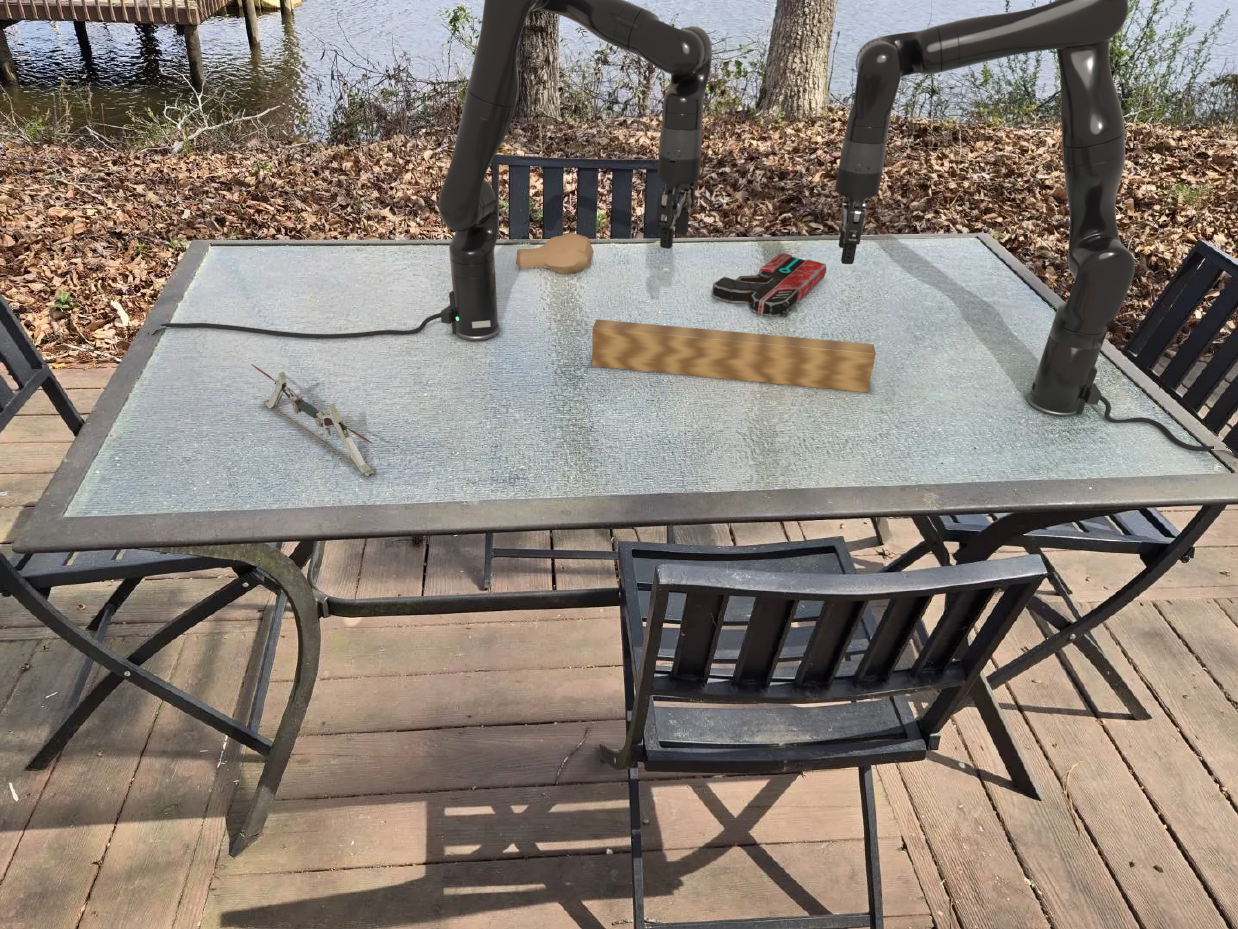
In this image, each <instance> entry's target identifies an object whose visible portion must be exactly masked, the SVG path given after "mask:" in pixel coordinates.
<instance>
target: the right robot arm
mask: <svg viewBox="0 0 1238 929" xmlns="http://www.w3.org/2000/svg"><path fill="white" fill-rule="evenodd" d="M1128 14H1129V2H1128V0H1055V1H1052V2H1050V3H1046V4H1044V5H1040V6H1037V7H1033V8H1029V9H1024V10H1019V11H1013V12H1012V11H1011V12H1005V13H998V14H989V15H982V16H975V17H968V18H964V19H959V20H955V21H949V22H947V23H943V24H939V25H938V24H937V25H935V26H931V27H928V28H926V29H922V30H916V31H908V32H900V33H894V34H888V35H883V36H879V37H875V38H873V39H871V40H868V41H867V42H866V43H864V44H863V45H862V46H861V48H859V50H858V52H857V54H856V57H855V70H856V82H855V90H854V96H853V103H852V106H851V107H850V110H849V112H848V117H847V123H846V129H845V135H844V140H843V144H842V147H841V152H840V157H839V164H838V170H837V175H836V181H835V191H836V193H837V194H839V195H840V196H843V197H844V199H843V200H842V201H841V202H842V203H841V211H840V233H839V239H838V247H839V248H840V249H842V252H841V258H840V261H841V262H840V263H841V264H843V265H853V264H854V262H855V257H856V251H857V246H858V245H860V243H861V241H862V240H861V238H862V231H863V228H864V220H865V215H866V213H867V206H866V202H865V201H864V200H865V199H871V198H872V199H873V198H875V197H876V196H877V195H878V194H879V191H880V188H881V181H882V176H883V170H884V166H885V159H886V154H887V140H888V136H889V129H890V124H891V118H892V110H893V108H894V104H895V100H896V98H897V94H898V91H899V86H900V82H901V78H903V77H906V76H911V75H915V74H921V75H925V76H926V75H927V76H928V75H935V74H940V73H944V72H948V71H952V70H953V71H954V70H957V69H961V68H965V67H969V66H974V65H977V64H982V63H986V62H989V61H994V60H998V59H1003V58H1007V57H1011V56H1017V55H1023V54H1027V53H1035V52H1041V51H1049V50H1055V51H1056V56H1057V62H1058V69H1059V74H1060V124H1061V147H1062V149H1061V150H1062V161H1063V162H1062V164H1063V171H1064V172H1063V173H1064V182H1065V189H1066V196H1067V203H1068V210H1069V233H1068V247H1067V249H1068V250H1067V251H1068V252H1067V264H1068V265H1067V266H1068V270H1069V272H1070V274H1071V276H1072V277H1073V278H1074V282H1073V284H1072V287H1071V290H1070V293H1069V296H1068V298H1067V301H1064V302H1062V303H1060V305H1058V307H1057V310H1056V312H1055V315H1054V318H1053V322H1052V325H1051V328H1050V330H1049V334H1048V337H1047V339H1046V343H1045V346H1044V349H1043V352H1042V355H1041V358H1040V361H1039V365H1038V367H1037V370H1036V374H1035V376H1034V378H1033V380H1032V383H1031V387H1030V392H1029V394H1028V395H1027V402H1028V404H1029V405H1030V406H1031V407H1033V408H1034V409H1035V410H1037V411H1039V412H1041V413H1045V414H1047V415H1051V416H1058V417H1070V416H1074V415H1083V411H1084V409H1085V406H1086V404H1087V405H1094V406H1096V405H1097V406H1098V404H1099V402H1102V403H1103V404H1104V406H1105V411H1104V414H1103V416H1104V419H1105V420H1106V421H1107V422H1108V423H1112V424H1126V423H1127V424H1128V423H1131V424H1132V423H1147V424H1150V425H1152V426H1155V427H1157V428H1158V429H1160V430H1161V431H1162V432H1163V433H1164V435H1165V436H1167V437H1168V439H1169V440H1171V441H1172V442H1173V443H1174V444H1175V445H1177V446H1179V447H1181V448H1183V449H1186V450H1189V451H1195V452H1210V451H1209V450H1211V449H1214V446H1215V445H1204V446H1203V445H1200V446H1199V445H1193V444H1189V443H1186V442H1184V441H1182V440H1180V439H1179V438H1177V437H1176V436H1175V435H1174V434H1173V432H1171V431H1170V430H1169V428H1167V427H1166V426H1165V425H1164V424H1162V423H1161V422H1159V421H1157V420H1155V419H1153V418H1148V417H1143V416H1141V417H1131V418H1125V419H1115V418H1113V417H1112V416H1110V414H1111V411H1112V405H1111V403H1110V401H1109V400H1108V399H1107V398H1106V397H1104V395H1102V392H1101V391H1100V389H1099V387H1098V386H1097V383H1095V379H1096V376H1097V374H1098V369H1097V367H1096V364H1097V362H1098V358H1099V355H1100V352H1101V350H1102V347H1103V344H1104V342H1105V339H1106V336H1107V333H1108V331H1109V328H1110V325H1111V323H1112V322H1113V321H1115V319H1116V318H1117V317H1118V315H1119V313H1120V311H1121V309H1122V307H1123V304H1124V302H1125V299H1126V297H1127V295H1128V292H1129V290H1130V287H1131V285H1132V281H1133V279H1134V276H1135V272H1136V260H1135V258H1134V256H1133V254H1132V253H1131V251H1129V249H1128V248H1127V247H1126V246H1125V245H1124V244H1123V242H1122V241H1121V238H1120V234H1119V230H1118V222H1117V212H1116V200H1117V195H1118V191H1119V187H1120V184H1121V182H1122V181H1121V180H1122V177H1123V172H1124V168H1125V162H1126V134H1125V133H1126V132H1125V123H1124V122H1125V120H1124V114H1123V110H1122V106H1121V102H1120V98H1119V95H1118V92H1117V89H1116V85H1115V82H1114V78H1113V75H1112V69H1111V63H1110V62H1111V61H1110V40H1111V39H1113V38H1114V37H1115V36H1116V35H1117V34H1118V33H1119V32H1120V30H1121V29H1122V28H1123V26H1124V25H1125V22H1126V21H1127V17H1128ZM854 233H855V236H854ZM1224 446H1225V445H1224ZM1225 447H1226V448H1228V449H1230V450H1231V451H1232V453H1233V454H1234V456H1233V457H1234V459H1237V460H1238V451H1237V450H1235V449H1234V448H1232V447H1229V446H1225Z"/></svg>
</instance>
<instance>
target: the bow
mask: <svg viewBox="0 0 1238 929" xmlns="http://www.w3.org/2000/svg"><path fill="white" fill-rule="evenodd" d="M250 365H251V366H252V367H253V368H255V369H256V370H257V371H259V373H261V374H263V375H264V376H266V377H267V378H269V379H270V380H272V381H273V382H274V390H273V391H272V392H271V394H270V396H269V398H268V399H265V400H263V401H262V403H263V406H264V407H266V408H267V409H273V410H274V411H276V412H277V413H278V414H280V415H281V416H283V417H285V419H287V420H289V421H290V422H292V423H293V424H295V425H296V426H297V427H299V428H301V429H302V430H304V431H305V432H306V433H307V434H309V435H311V436H312V437H313V438H315V439H316V440H318V441H319V442H320V443H322V444H324V445H325V446H326V447H328V448H329V449H330V450H332V451H334V452H335V453H337V454H338V455H340V456H341V457H342V458H343V459H345V460H347V461H348V462H349V463H351V464H352V465H354V466H355V467H357V468H358V470H359V471H360V472H361V473H362V475H364V476H367V477H370V475H373V474H375V473H374V471H373V469H372V468H371V467H370V466H368V464H367V463H366V462H365V460H364V458H363V456H362V454H361V452H360V451H359V448H358V447H357V445H356V443H355V441H354V440H353V438H352V436H351V434H350V432H351V433H353V434H354V435H356V436H357V437H358V438H360V439H362V440H363V441H365V442H367V443H369V444H373V442H372V441H371V440H369V439H368V438H366V437H365V436H363V434H360V433H359V432H357V431H355V430H353V429H351V428H349V427H348V426H347V425H346V423H345V421H344V419H343V417H342V416H341V414H340V413H339V411H338V409H337V407H336V405H335V403H334V402H333V403H331V404H328V405H327V406H328V411H327V409H324V410H321V411H319V409H318V408H317V407H316V406H314V405H312V404H311V403H310V402H308V401H305V400H304V399H303V398H304V397H303V394H302V393H298V394H297V393H296V392H295V391H294V390H293V389H292V388H290V387H288V386H287V385H288V381H287V375H286V372H285V371H283V372H280V373H278V375H277V379H276V380H275V379H274V378H273V377H271V375H269V374H268V373H267V372H265V371H263V369H261V368H259V367H257V366H256V365H254V364H253V363H251V364H250ZM283 394H284V395H285V396H286V398H288V399H289V401H290V402H289V403H290V404H291V407H292V410H291V411H292V414H293V415H294V416H296V415H298V414H302V412H303V413H304V414H306V415H308V416H309V417H311V418H312V419H315V424H316V426H317V427H319V428H321V429H323V433H324V436H325V437H326V438H328V437H330V436H333V435H334V433H333V430H332V426H334V427H335V428H336V431H337V432H338V434H339V436H340V438H341V440H342V443H343V444H344V446H345V449H346V450H347V452H348V453H349V455H350V456H351V459H352V460H353V461H352V460H350V459H349V458H348V457H346V456H344V455H343V454H342V453H340V452H339V451H338V450H336V449H334V447H332V446H330V445H328V444H327V443H325V442H324V441H323V440H321V439H320V438H318V437H317V436H315V435H314V434H313V433H311V432H310V431H309V430H307V429H305V428H304V427H303V426H301V425H300V424H298V423H297V422H295V421H294V420H292V419H291V418H289V417H288V416H286V415H285V414H284V413H282V412H281V411H279V410H278V409H276V406H278V405H279V404H280V401H281V400H282V397H283Z"/></svg>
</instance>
